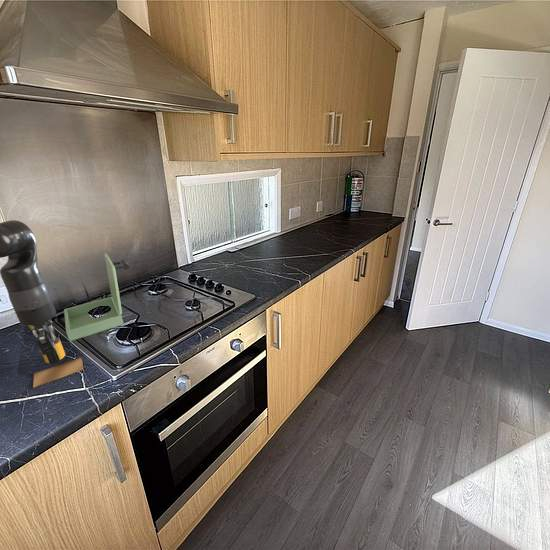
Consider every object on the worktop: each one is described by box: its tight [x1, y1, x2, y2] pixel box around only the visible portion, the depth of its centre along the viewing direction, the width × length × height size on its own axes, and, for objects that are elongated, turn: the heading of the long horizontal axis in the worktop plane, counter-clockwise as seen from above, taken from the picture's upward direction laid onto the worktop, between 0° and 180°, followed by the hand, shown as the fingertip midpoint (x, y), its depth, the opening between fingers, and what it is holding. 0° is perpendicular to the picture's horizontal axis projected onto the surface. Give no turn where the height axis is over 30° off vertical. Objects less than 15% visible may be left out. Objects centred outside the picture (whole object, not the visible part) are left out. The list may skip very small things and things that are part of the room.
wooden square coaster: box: [32, 356, 84, 388], centre depth 81 cm, size 11×11×1 cm
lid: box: [103, 253, 130, 315], centre depth 103 cm, size 16×18×6 cm
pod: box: [40, 337, 66, 364], centre depth 79 cm, size 5×5×5 cm
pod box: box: [63, 296, 125, 342], centre depth 101 cm, size 16×18×4 cm
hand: (54, 356), depth 80 cm, fingers closed on pod, 4 cm apart
